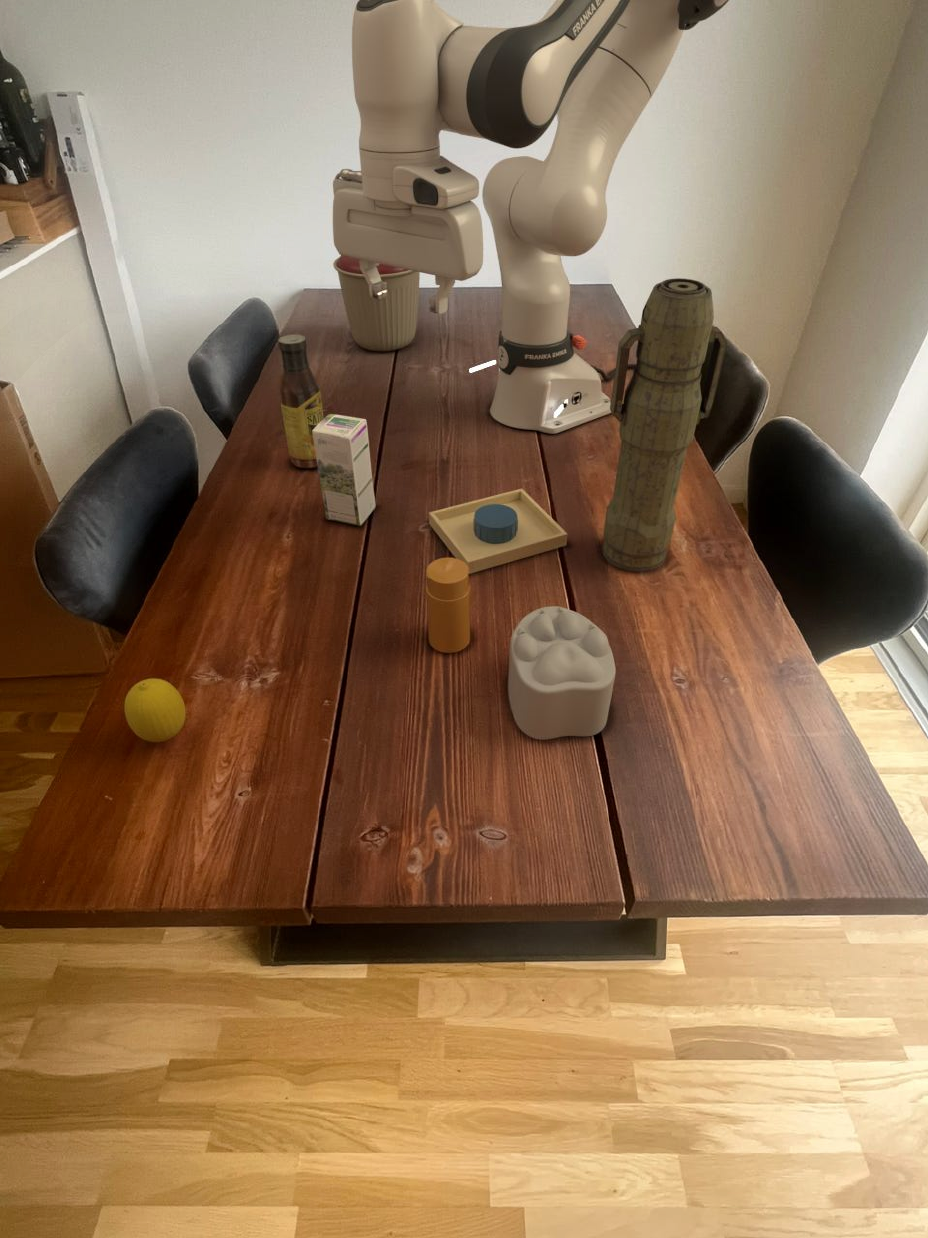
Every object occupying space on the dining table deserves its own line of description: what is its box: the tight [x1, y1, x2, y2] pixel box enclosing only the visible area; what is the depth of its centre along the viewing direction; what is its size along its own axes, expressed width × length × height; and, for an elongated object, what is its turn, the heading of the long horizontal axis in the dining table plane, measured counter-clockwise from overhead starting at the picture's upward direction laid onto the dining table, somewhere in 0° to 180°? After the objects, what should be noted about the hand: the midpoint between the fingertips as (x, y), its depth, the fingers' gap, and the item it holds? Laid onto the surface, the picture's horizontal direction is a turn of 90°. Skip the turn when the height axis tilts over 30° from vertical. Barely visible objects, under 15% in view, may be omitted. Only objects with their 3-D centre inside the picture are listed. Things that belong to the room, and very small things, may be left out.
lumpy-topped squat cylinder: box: [507, 605, 617, 741], centre depth 78 cm, size 10×13×9 cm
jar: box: [424, 557, 471, 654], centre depth 84 cm, size 5×5×10 cm
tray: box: [428, 488, 568, 575], centre depth 103 cm, size 15×13×2 cm
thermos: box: [602, 277, 728, 573], centre depth 89 cm, size 9×12×35 cm
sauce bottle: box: [277, 334, 325, 470], centre depth 114 cm, size 7×6×20 cm
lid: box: [474, 504, 518, 544], centre depth 103 cm, size 6×6×3 cm
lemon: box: [123, 678, 187, 743], centre depth 74 cm, size 6×6×8 cm
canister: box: [332, 255, 421, 352], centre depth 152 cm, size 18×18×21 cm
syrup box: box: [312, 413, 377, 527], centre depth 103 cm, size 6×6×14 cm
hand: (408, 304), depth 91 cm, fingers open, 8 cm apart
